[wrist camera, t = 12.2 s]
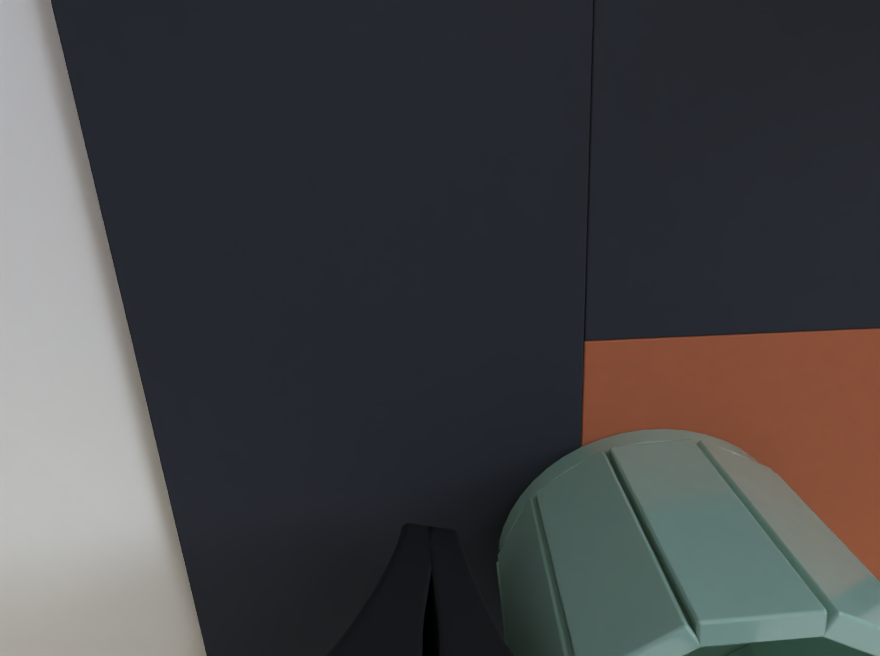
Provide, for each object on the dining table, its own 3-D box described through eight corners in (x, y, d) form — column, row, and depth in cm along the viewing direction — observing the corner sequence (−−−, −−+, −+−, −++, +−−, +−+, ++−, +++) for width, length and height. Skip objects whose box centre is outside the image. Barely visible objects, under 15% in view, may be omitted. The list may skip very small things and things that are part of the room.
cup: (510, 681, 16) (539, 946, 11) (482, 445, 14) (502, 640, 9) (786, 659, 16) (953, 922, 11) (807, 411, 13) (1037, 594, 8)
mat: (223, 692, 17) (217, 706, 17) (-43, -449, 9) (-64, -474, 9) (932, 674, 16) (944, 687, 16) (1295, -568, 9) (1333, -599, 8)
